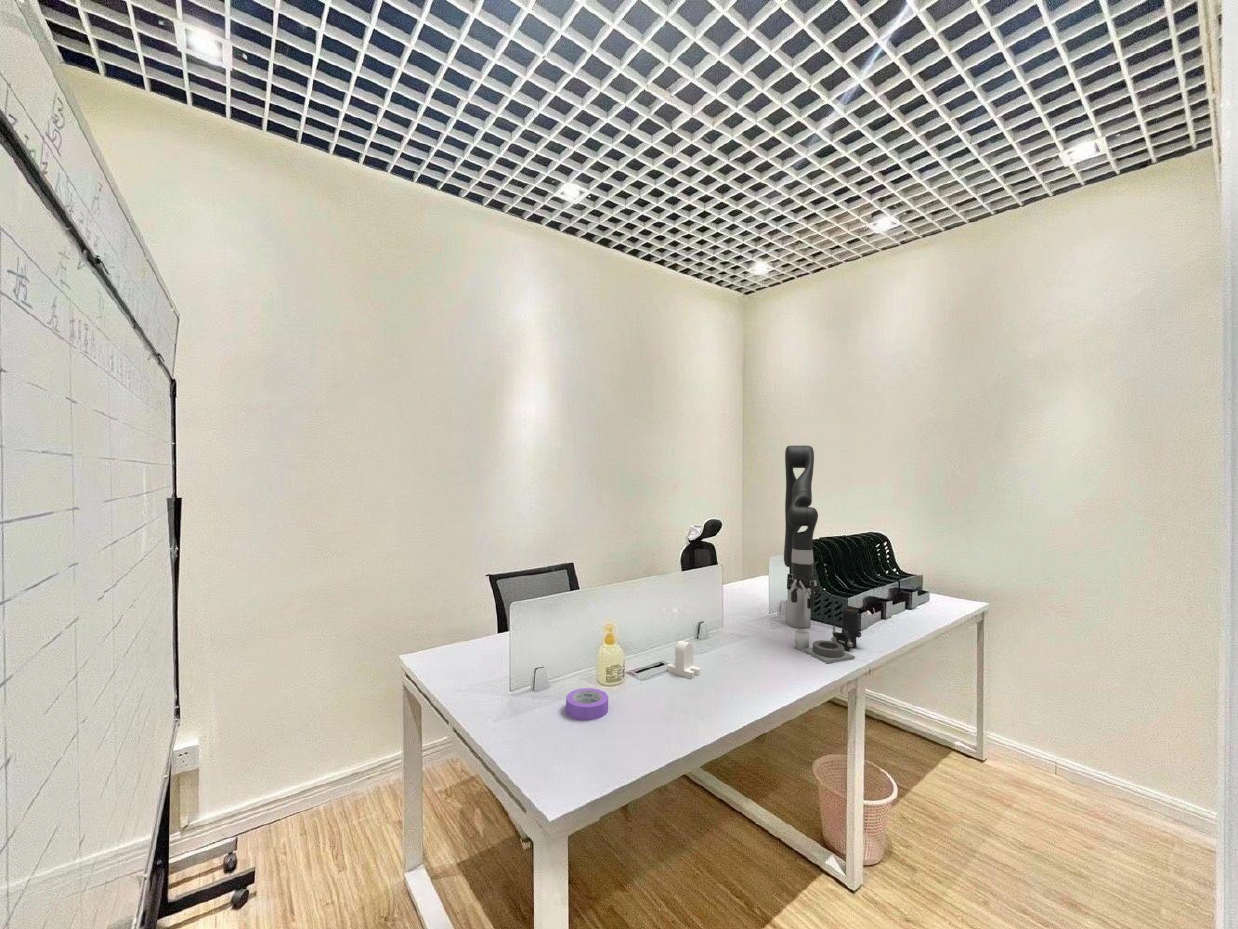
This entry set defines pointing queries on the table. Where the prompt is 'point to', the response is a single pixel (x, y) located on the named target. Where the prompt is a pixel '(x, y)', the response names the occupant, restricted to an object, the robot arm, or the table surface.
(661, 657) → the table surface
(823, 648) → the ring on square plate
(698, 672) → the cable organizer
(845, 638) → the scope
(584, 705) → the masking tape
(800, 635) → the cap
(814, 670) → the table surface
